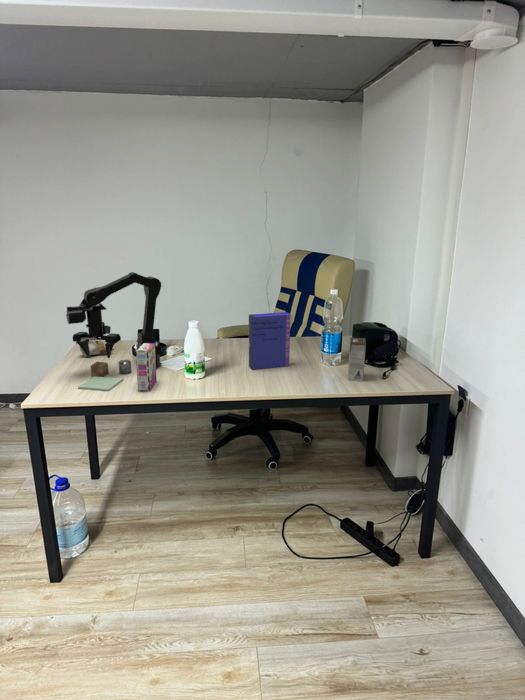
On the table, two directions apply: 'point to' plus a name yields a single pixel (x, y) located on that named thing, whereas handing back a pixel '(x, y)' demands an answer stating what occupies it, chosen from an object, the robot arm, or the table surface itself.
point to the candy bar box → (146, 366)
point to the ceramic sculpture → (95, 348)
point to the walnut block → (99, 369)
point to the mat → (101, 383)
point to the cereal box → (269, 340)
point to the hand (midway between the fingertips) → (98, 357)
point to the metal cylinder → (125, 367)
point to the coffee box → (356, 359)
